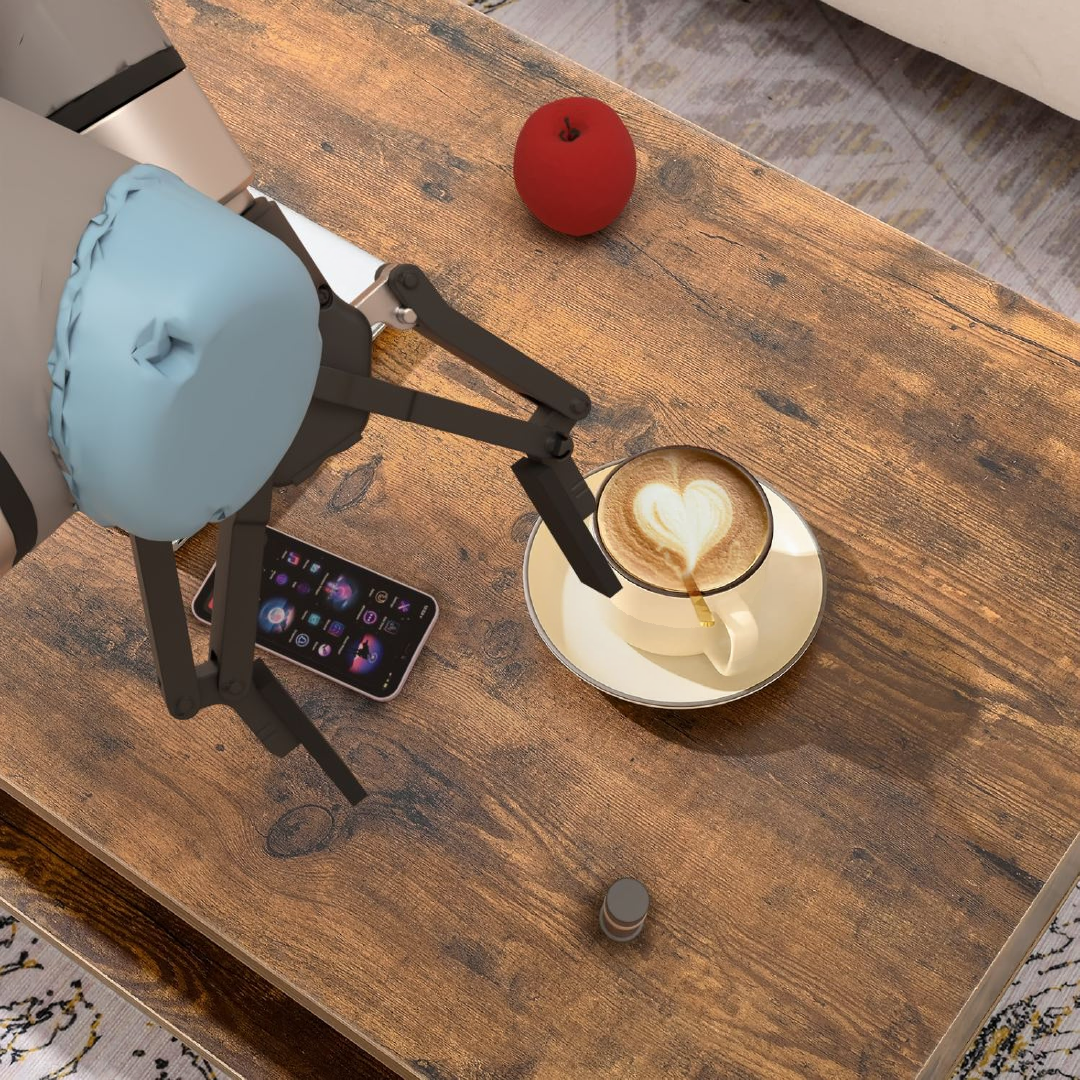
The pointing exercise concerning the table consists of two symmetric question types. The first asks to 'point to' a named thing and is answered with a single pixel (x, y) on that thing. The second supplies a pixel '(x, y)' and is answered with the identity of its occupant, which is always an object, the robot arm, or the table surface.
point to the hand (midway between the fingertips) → (481, 683)
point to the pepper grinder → (624, 909)
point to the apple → (575, 165)
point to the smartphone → (334, 616)
